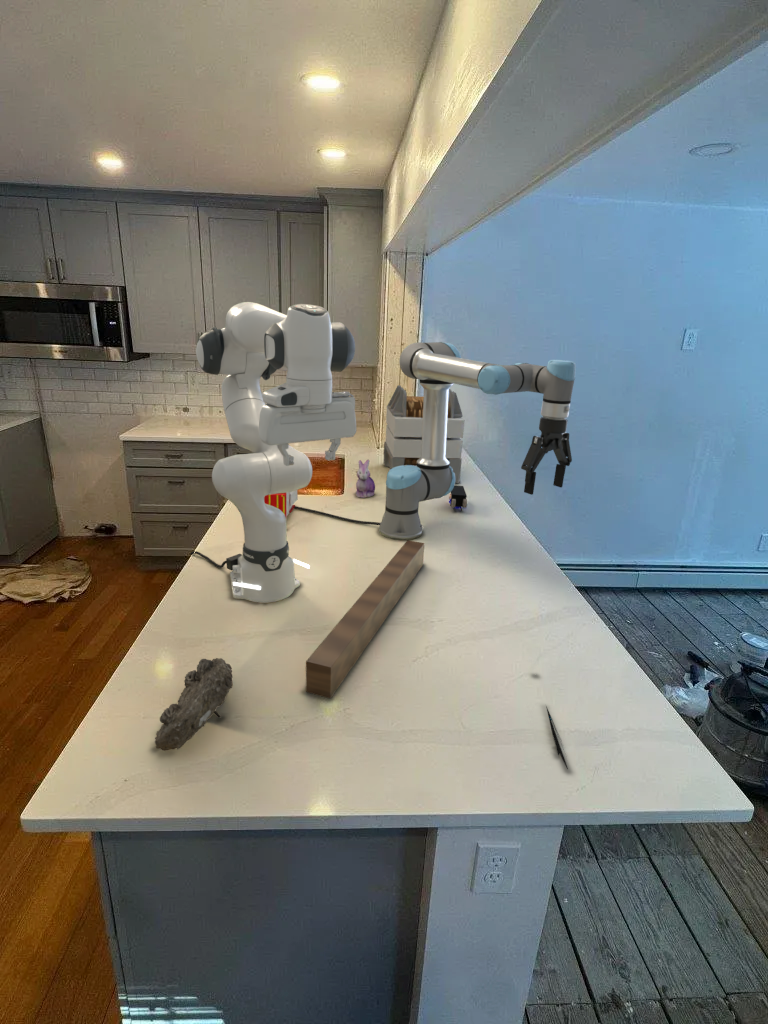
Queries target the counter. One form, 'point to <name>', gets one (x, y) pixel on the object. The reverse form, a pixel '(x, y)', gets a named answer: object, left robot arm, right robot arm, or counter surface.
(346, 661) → the bar
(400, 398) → the white storage bin
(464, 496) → the figurine character
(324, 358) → the left robot arm
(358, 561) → the counter surface
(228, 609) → the counter surface
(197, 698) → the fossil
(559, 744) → the feather
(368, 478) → the figurine
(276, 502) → the toy
